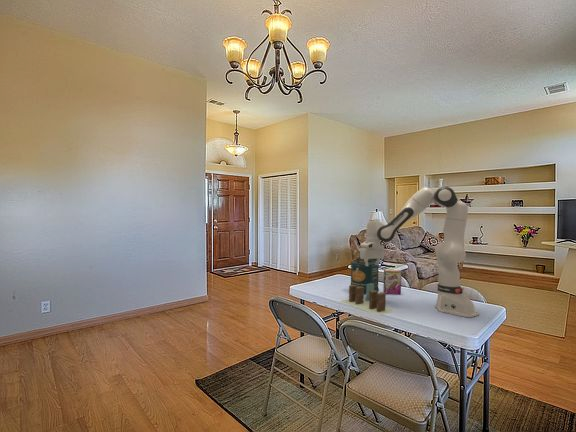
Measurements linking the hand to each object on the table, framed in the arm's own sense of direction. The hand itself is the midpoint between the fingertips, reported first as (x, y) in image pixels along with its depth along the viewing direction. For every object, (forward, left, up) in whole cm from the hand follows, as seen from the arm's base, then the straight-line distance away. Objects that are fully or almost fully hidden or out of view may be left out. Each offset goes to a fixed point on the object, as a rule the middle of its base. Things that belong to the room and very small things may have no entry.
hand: (372, 265), depth 201 cm
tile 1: (-20, +15, -22) cm, 33 cm away
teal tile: (0, +1, -22) cm, 22 cm away
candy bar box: (+2, -23, -22) cm, 32 cm away
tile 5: (+2, +15, -22) cm, 26 cm away
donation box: (+16, -9, -22) cm, 28 cm away
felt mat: (-9, +15, -22) cm, 28 cm away
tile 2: (-15, +15, -22) cm, 30 cm away
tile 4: (-4, +15, -22) cm, 27 cm away
